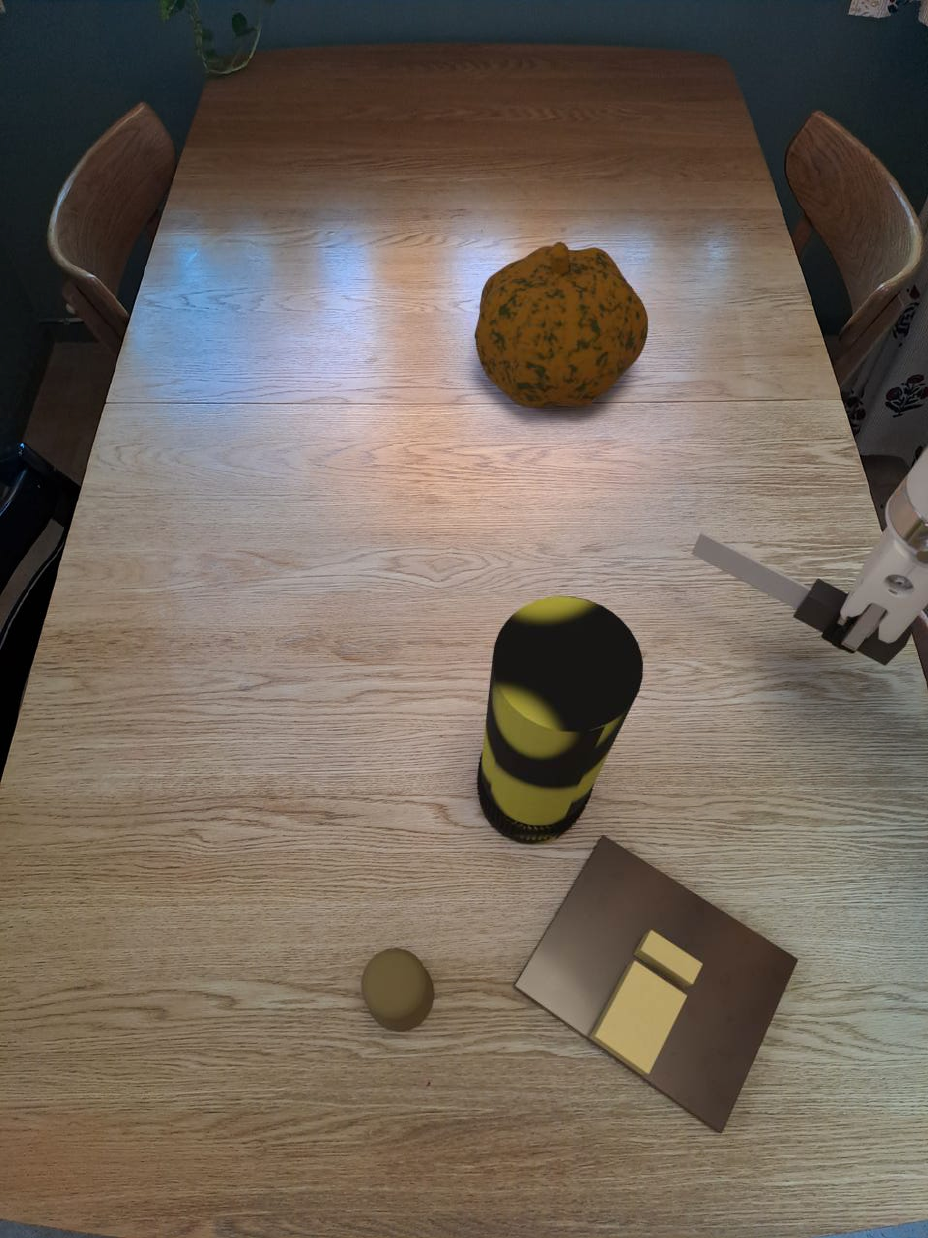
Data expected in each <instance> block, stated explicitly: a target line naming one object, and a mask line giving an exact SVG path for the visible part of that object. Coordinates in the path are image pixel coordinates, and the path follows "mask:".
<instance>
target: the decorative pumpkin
mask: <svg viewBox="0 0 928 1238" xmlns="http://www.w3.org/2000/svg"><path fill="white" fill-rule="evenodd" d="M648 333H649V317H648V313H647V310H646V307H645V304H644V302H643V301H642V299H641V297H639V294H637V292H636V291H635V290H634V288H633V286H632V285H630V283H629V282H628V280H627V279H626V278H625V277H624V275H623V273H622V272H621V270H620V268H619V267H618V265H617V263H616V262H615V260H614V259H613V258H612V257H611V256H610V255H609V253H608V252H607V251H606V250H603V249H602V248H599V247H595V246H594V247H588V248H581V249H569V247H568V245H566V243H565V242H562V241H557V242H555V243H554V244H553V246H551V245H545V246H544V245H543V246H541V247H539V248H537V249H535V250H533V251H532V252H531V253H529V254H528V255H526V256H525V257H523V258H520V259H518V260H515V261H513V262H510V263H509V264H506V265H504V266H503V267H502V268H501V269H499V270H497V271H496V272H495V273H493V274H492V275H490V277H489V278H488V279H487V280H486V281H485V284H484V285H483V288H482V290H481V295H480V302H479V314H478V318H477V323H476V327H475V331H474V335H473V337H474V340H475V348H476V353H477V356H478V359H479V362H480V365H481V368H482V370H483V371H484V373H485V375H486V377H487V378H488V380H489V381H490V382H491V383H492V384H494V385H495V386H496V387H497V388H498V389H499V390H500V391H501V392H502V393H503V394H505V396H507V397H508V398H509V399H510V400H512V401H513V402H514V403H516V404H517V405H519V406H521V407H525V408H526V407H527V408H558V407H560V406H564V407H567V406H568V407H575V408H577V407H578V408H583V407H584V408H585V407H588V406H590V405H591V404H592V403H594V402H595V401H596V400H598V399H599V398H601V397H602V396H603V395H605V394H606V393H607V392H608V391H609V390H610V389H611V388H612V387H613V386H614V385H615V384H616V383H617V382H618V381H619V379H620V378H621V377H622V376H623V375H624V374H625V373H626V372H627V371H628V370H629V369H630V368H631V367H632V366H633V365H634V364H635V363H636V361H638V359H639V357H640V356H641V354H642V352H643V350H644V348H645V345H646V341H647V339H648Z"/></svg>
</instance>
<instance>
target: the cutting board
mask: <svg viewBox="0 0 928 1238" xmlns="http://www.w3.org/2000/svg"><path fill="white" fill-rule="evenodd" d="M650 930H653V931H654V932H656V933H657V934H659V935H660V936H662V937H663V938H665V939H666V940H668V941H669V942H671V943H672V944H674V945H675V946H677V947H678V948H680V949H681V950H683V951H684V952H686V953H688V954H689V955H691V956H692V957H694V958H695V959H697V960H698V961H700V962H701V963H702V964H703V965H702V967H701V969H700V971H699V973H698V975H697V977H696V979H695V981H694V983H693V985H690V986H687V987H685V988H683V987H681V986H680V985H678V984H677V983H675V982H674V981H672V980H671V979H669V978H668V977H666V976H665V975H663V974H662V973H660V972H659V971H657V970H656V969H654V968H653V967H651V966H650V965H648V964H647V963H645V962H644V961H643V960H641V959H640V958H638V957H637V956H635V955H634V953H635V951H636V949H637V947H638V945H639V943H640V941H641V939H642V937H643V936H644V935H645V934H646V933H648V932H649V931H650ZM633 961H637V962H638V963H640V964H641V965H643V966H644V967H646V968H647V969H649V970H650V971H652V972H653V973H655V974H656V975H658V976H659V977H661V978H662V979H663V980H665V981H666V982H668V983H669V984H671V985H672V986H674V987H675V988H677V989H678V990H680V991H681V992H683V993H684V994H686V995H687V998H686V1000H685V1002H684V1004H683V1006H682V1008H681V1010H680V1012H679V1014H678V1016H677V1018H676V1020H675V1022H674V1024H673V1026H672V1028H671V1030H670V1032H669V1034H668V1036H667V1038H666V1040H665V1042H664V1045H663V1047H662V1049H661V1051H660V1053H659V1055H658V1057H657V1059H656V1061H655V1063H654V1065H653V1067H652V1069H651V1071H650V1073H649V1074H639V1073H638V1072H636V1071H635V1070H634V1069H632V1068H631V1067H629V1066H628V1065H627V1064H625V1063H624V1062H622V1061H621V1060H620V1059H618V1058H617V1057H615V1056H614V1055H613V1054H611V1053H610V1052H608V1051H607V1050H606V1049H604V1048H603V1047H601V1046H600V1045H599V1044H597V1043H596V1042H594V1041H593V1040H592V1039H590V1035H591V1033H592V1032H593V1030H594V1028H595V1026H596V1024H597V1022H598V1020H599V1018H600V1017H601V1015H602V1013H603V1011H604V1009H605V1007H606V1005H607V1003H608V1001H609V1000H610V998H611V996H612V994H613V992H614V990H615V988H616V986H617V985H618V983H619V981H620V979H621V977H622V975H623V973H624V971H625V969H626V968H627V966H628V965H629V964H630V963H632V962H633ZM798 962H799V958H797V957H796V956H794V955H793V954H791V953H790V952H789V951H786V950H785V949H783V948H782V947H780V946H779V945H777V944H776V943H773V942H772V941H771V940H769V939H768V938H766V937H764V936H763V935H761V934H759V933H758V932H756V931H755V930H753V929H751V928H750V927H749V926H747V925H745V924H744V923H742V922H741V921H739V920H738V919H736V918H734V917H733V916H731V915H730V914H728V913H726V911H723V910H722V909H721V908H719V907H717V906H716V905H714V904H713V903H711V902H710V901H708V900H706V899H705V898H703V897H702V896H700V895H699V894H697V893H695V892H693V891H692V890H691V889H689V888H688V887H686V886H684V885H683V884H682V883H680V882H678V881H677V880H675V879H674V878H672V877H671V876H669V875H667V874H666V873H664V872H662V871H661V870H660V869H658V868H656V867H655V866H653V865H652V864H649V863H648V862H646V861H645V860H643V858H640V857H639V856H638V855H636V854H634V853H632V852H631V851H629V850H628V849H626V848H625V847H624V846H622V845H620V844H619V843H617V842H615V841H614V840H612V839H610V838H609V836H607V835H604V834H602V835H601V836H600V838H599V840H598V841H597V843H596V845H595V846H594V849H593V850H592V852H591V854H590V855H589V857H588V858H587V860H586V862H585V863H584V865H583V867H582V868H581V870H580V873H578V876H577V877H576V879H575V880H574V883H572V885H571V887H570V889H569V891H568V892H567V894H566V896H565V897H564V899H563V901H562V903H561V905H560V906H559V908H558V909H557V911H556V913H555V914H554V916H553V918H552V919H551V922H550V923H549V925H548V926H547V928H546V929H545V932H544V933H543V935H542V937H541V938H540V940H539V942H538V944H537V945H536V947H535V949H534V951H533V952H532V953H531V956H530V957H529V959H528V960H527V962H526V964H525V966H524V967H523V968H522V971H521V972H520V975H519V976H518V977H517V979H516V982H515V983H514V984H513V989H514V990H516V991H517V992H519V994H521V995H523V996H524V997H526V998H527V999H528V1000H530V1001H531V1002H533V1003H534V1004H536V1005H537V1006H538V1007H540V1008H541V1009H542V1010H544V1011H545V1012H547V1013H548V1014H549V1015H550V1016H552V1017H554V1018H555V1019H557V1020H558V1021H559V1022H561V1023H562V1024H563V1025H565V1026H566V1027H568V1029H570V1030H572V1031H573V1032H575V1033H576V1034H577V1035H579V1036H580V1037H582V1038H583V1039H584V1040H586V1042H588V1043H590V1044H591V1045H593V1046H594V1047H596V1048H597V1049H598V1050H600V1051H601V1052H603V1053H604V1054H605V1055H607V1056H608V1057H610V1058H611V1059H612V1060H614V1061H615V1062H617V1063H618V1064H620V1065H621V1066H623V1068H625V1069H627V1070H628V1071H629V1072H631V1073H632V1074H633V1075H634V1076H636V1077H638V1078H639V1079H640V1080H641V1081H643V1082H644V1083H646V1084H648V1085H649V1086H650V1087H652V1088H653V1089H654V1090H656V1091H657V1092H659V1093H660V1094H661V1095H663V1096H664V1097H665V1098H667V1099H668V1100H669V1101H671V1102H672V1103H674V1104H675V1105H677V1106H678V1107H680V1108H681V1109H683V1110H684V1111H685V1112H686V1113H688V1114H690V1115H691V1116H692V1117H694V1118H695V1119H696V1120H698V1121H700V1122H701V1123H702V1124H703V1125H705V1126H706V1127H707V1128H709V1129H710V1130H712V1131H713V1132H715V1133H717V1134H723V1132H724V1130H725V1127H726V1125H727V1123H728V1121H729V1118H730V1116H731V1114H732V1111H733V1109H734V1108H735V1105H736V1103H737V1101H738V1098H739V1096H740V1094H741V1092H742V1089H743V1087H744V1084H745V1082H746V1080H747V1077H748V1076H749V1073H750V1071H751V1069H752V1066H753V1064H754V1061H755V1059H756V1057H757V1055H758V1053H759V1050H760V1048H761V1046H762V1043H763V1041H764V1039H765V1037H766V1035H767V1032H768V1030H769V1027H770V1026H771V1023H772V1021H773V1018H774V1016H775V1014H776V1011H777V1009H778V1007H779V1005H780V1003H781V1000H782V998H783V995H784V994H785V991H786V989H787V986H788V984H789V982H790V980H791V977H792V975H793V973H794V971H795V968H796V966H797V964H798Z"/></svg>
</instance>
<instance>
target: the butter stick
mask: <svg viewBox="0 0 928 1238" xmlns="http://www.w3.org/2000/svg"><path fill="white" fill-rule="evenodd" d="M686 998H687V995H686V994H684V993H683V992H681V991H680V990H678V989H677V988H675V987H674V986H672V985H671V984H669V983H668V982H666V981H665V980H663V979H662V978H661V977H659V976H658V975H656V974H655V973H653V972H652V971H650V970H649V969H647V968H646V967H644V966H643V965H641V964H640V963H638V962H637V961H633V962H632V963H630V964H629V965H628V966H627V968H626V969H625V971H624V973H623V975H622V977H621V979H620V981H619V983H618V985H617V986H616V988H615V990H614V992H613V994H612V996H611V998H610V1000H609V1001H608V1003H607V1005H606V1007H605V1009H604V1011H603V1013H602V1015H601V1017H600V1018H599V1020H598V1022H597V1024H596V1026H595V1028H594V1030H593V1032H592V1033H591V1035H590V1039H592V1040H593V1041H594V1042H596V1043H597V1044H599V1045H600V1046H601V1047H603V1048H604V1049H606V1050H607V1051H608V1052H610V1053H611V1054H613V1055H614V1056H615V1057H617V1058H618V1059H620V1060H621V1061H622V1062H624V1063H625V1064H627V1065H628V1066H629V1067H631V1068H632V1069H634V1070H635V1071H636V1072H638V1073H639V1074H649V1073H650V1071H651V1069H652V1067H653V1065H654V1063H655V1061H656V1059H657V1057H658V1055H659V1053H660V1051H661V1049H662V1047H663V1045H664V1042H665V1040H666V1038H667V1036H668V1034H669V1032H670V1030H671V1028H672V1026H673V1024H674V1022H675V1020H676V1018H677V1016H678V1014H679V1012H680V1010H681V1008H682V1006H683V1004H684V1002H685V1000H686Z"/></svg>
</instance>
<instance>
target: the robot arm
mask: <svg viewBox="0 0 928 1238" xmlns="http://www.w3.org/2000/svg"><path fill="white" fill-rule="evenodd" d="M884 514H885V515H884V519H885V522H886V528H885V529H884V530H883V531H882V533H881V535H880V536H879V537H878V539H877V540H876V542H875V543H874V545H873V547H872V549H871V551H870V552H869V554H868V555H867V557H866V559H865V561H864V563H863V565H862V567H861V568H860V570H859V572H858V574H857V576H856V578H855V580H854V582H853V584H852V586H851V588H850V590H849V591H848V592H847V594H849V595H848V597H847V599H846V601H845V603H844V605H843V607H842V609H841V611H840V612H839V613H838V614H837V615H836V617H835V618H834V619H833V620H832V621H831V623H830V624H829V625H828V626H827V628H826V629H825V630H824V631H823V633H822V632H821V634H820V637H821V639H822V640H824V641H826V642H828V643H829V644H831V645H832V646H833V647H834V648H837V649H839V650H841V651H844V652H846V653H848V654H850V655H851V654H856V652H858V651H857V650H858V649H859V648H860V647H861V646H862V645H863V643H864V642H865V641H866V640H867V639H868V638H869V637H870V636H871V635H872V633H873V632H874V631H875V630H876V629H877V628H878V626H879V639H880V640H882V641H884V642H886V643H892V642H894V641H896V640H897V639H898V638H899V637H900V635H901V634H902V633H903V632H904V631H905V630H906V628H907V627H908V626H911V624H912V623H913V622H914V621H915V620H916V618H917V617H918V616H919V615H920V614H921V613H922V611H923V610H925V608H926V607H927V605H928V446H927V447H926V449H925V450H924V451H923V453H922V454H921V455H920V457H919V458H918V459H917V461H915V463H914V465H913V466H912V467H911V469H910V470H909V471H908V473H907V474H906V475H905V477H904V478H903V479H902V481H901V482H900V484H899V485H898V486H897V488H896V489H895V490H894V492H893V493H892V494H891V496H890V497H889V498H888V500H887V502H886V505H885V509H884ZM857 615H860V617H857Z"/></svg>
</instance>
